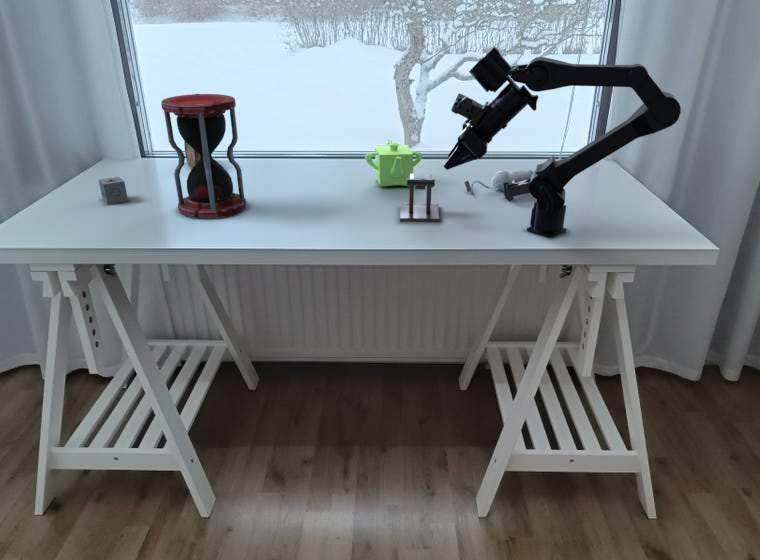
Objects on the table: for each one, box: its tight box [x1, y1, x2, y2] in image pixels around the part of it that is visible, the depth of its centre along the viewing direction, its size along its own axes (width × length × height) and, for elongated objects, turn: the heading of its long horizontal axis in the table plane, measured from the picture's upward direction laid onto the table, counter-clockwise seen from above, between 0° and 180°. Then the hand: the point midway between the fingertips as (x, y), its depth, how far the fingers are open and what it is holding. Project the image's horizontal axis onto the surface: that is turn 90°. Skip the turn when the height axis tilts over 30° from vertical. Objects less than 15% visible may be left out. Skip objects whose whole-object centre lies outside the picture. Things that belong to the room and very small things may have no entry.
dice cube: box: [98, 176, 129, 206], centre depth 164 cm, size 5×5×5 cm
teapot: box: [364, 139, 423, 188], centre depth 175 cm, size 15×13×11 cm
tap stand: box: [399, 173, 440, 223], centre depth 153 cm, size 11×9×9 cm
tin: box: [183, 140, 200, 169], centre depth 191 cm, size 15×3×8 cm, turn 25°
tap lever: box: [406, 177, 436, 191], centre depth 147 cm, size 11×6×2 cm, turn 177°
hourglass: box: [160, 93, 247, 219], centre depth 153 cm, size 16×16×25 cm
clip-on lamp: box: [464, 168, 534, 202], centre depth 169 cm, size 12×6×18 cm
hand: (447, 162), depth 143 cm, fingers open, 9 cm apart
